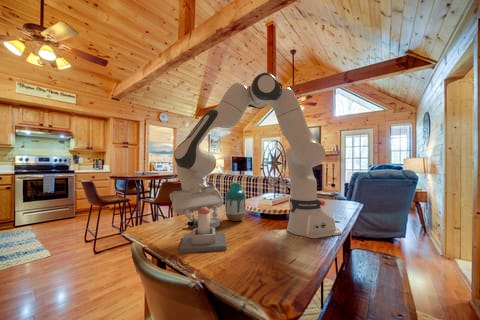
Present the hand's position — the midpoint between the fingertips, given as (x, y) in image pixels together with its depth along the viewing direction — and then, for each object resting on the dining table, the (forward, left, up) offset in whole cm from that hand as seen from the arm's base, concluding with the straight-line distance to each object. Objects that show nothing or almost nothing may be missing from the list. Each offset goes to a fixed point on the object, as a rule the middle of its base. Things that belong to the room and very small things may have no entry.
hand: (204, 218), depth 78 cm
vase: (-15, -29, -10) cm, 34 cm away
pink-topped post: (0, -1, -8) cm, 8 cm away
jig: (0, -1, -9) cm, 9 cm away
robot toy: (+1, -19, -10) cm, 21 cm away
